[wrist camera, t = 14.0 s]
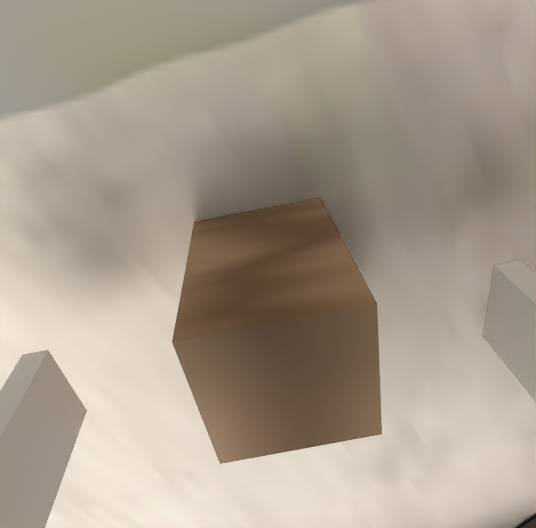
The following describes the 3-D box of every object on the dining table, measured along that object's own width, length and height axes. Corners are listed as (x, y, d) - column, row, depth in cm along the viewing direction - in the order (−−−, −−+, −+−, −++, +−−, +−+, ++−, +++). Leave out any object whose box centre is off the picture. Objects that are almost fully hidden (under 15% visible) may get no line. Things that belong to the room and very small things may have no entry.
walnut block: (320, 197, 16) (376, 303, 10) (331, 299, 18) (381, 434, 12) (194, 221, 16) (172, 341, 10) (223, 320, 18) (220, 463, 12)
